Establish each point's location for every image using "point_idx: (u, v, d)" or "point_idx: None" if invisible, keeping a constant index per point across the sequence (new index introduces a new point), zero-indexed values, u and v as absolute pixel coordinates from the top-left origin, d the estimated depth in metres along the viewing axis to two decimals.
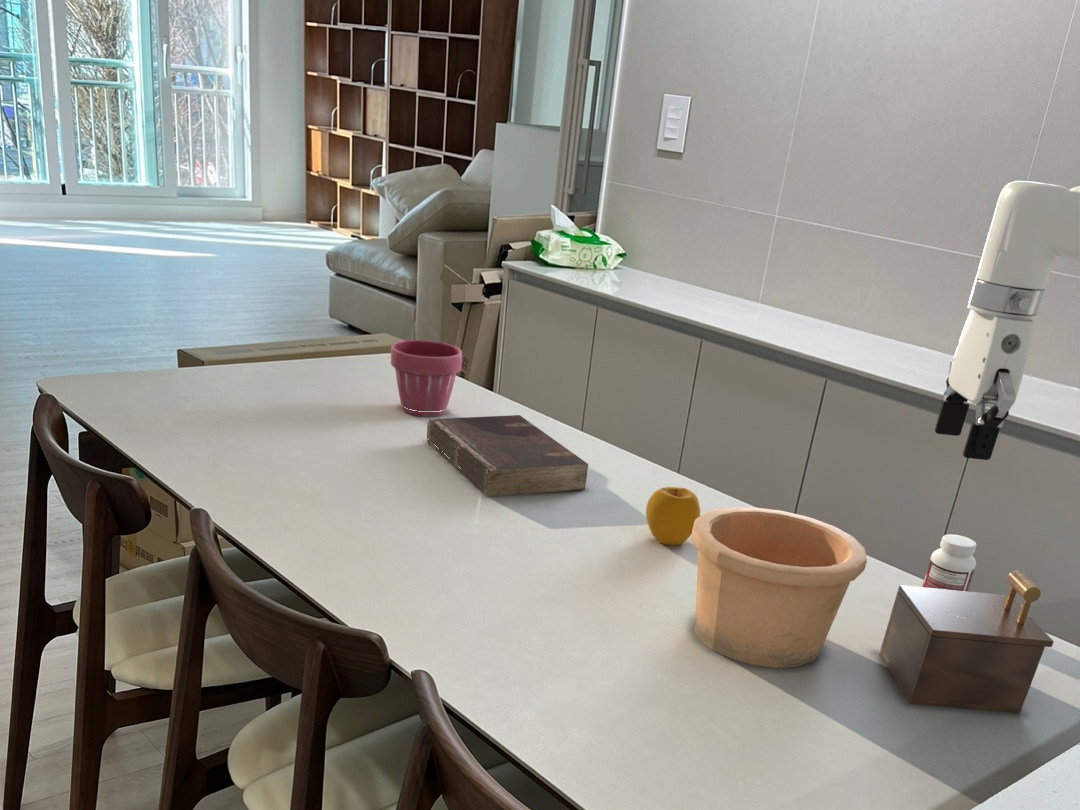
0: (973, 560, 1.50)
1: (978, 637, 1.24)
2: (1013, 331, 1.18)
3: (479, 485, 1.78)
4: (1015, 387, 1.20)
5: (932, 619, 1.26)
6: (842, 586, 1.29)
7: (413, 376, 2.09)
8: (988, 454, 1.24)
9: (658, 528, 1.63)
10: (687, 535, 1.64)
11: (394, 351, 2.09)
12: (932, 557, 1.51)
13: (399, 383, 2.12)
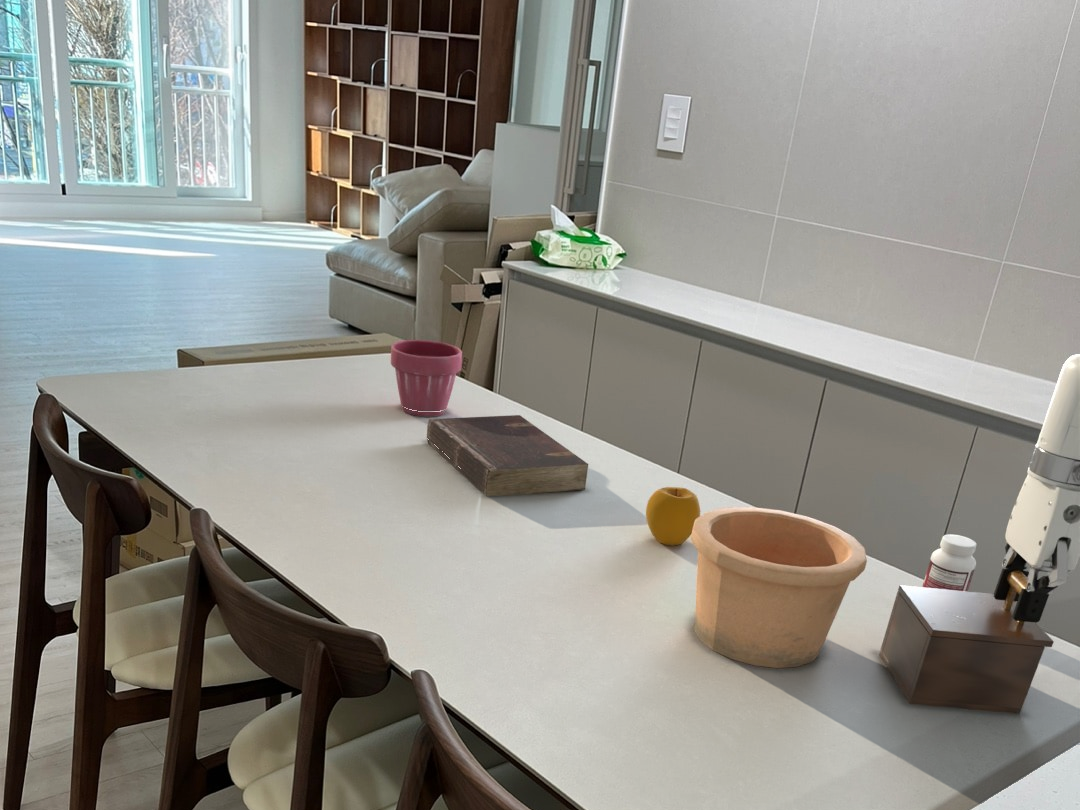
0: (973, 560, 1.50)
1: (978, 637, 1.24)
2: (1075, 502, 1.18)
3: (479, 485, 1.78)
4: (1076, 554, 1.21)
5: (932, 619, 1.26)
6: (842, 586, 1.29)
7: (413, 376, 2.09)
8: (1037, 617, 1.26)
9: (658, 528, 1.63)
10: (687, 535, 1.64)
11: (394, 351, 2.09)
12: (932, 557, 1.51)
13: (399, 383, 2.12)
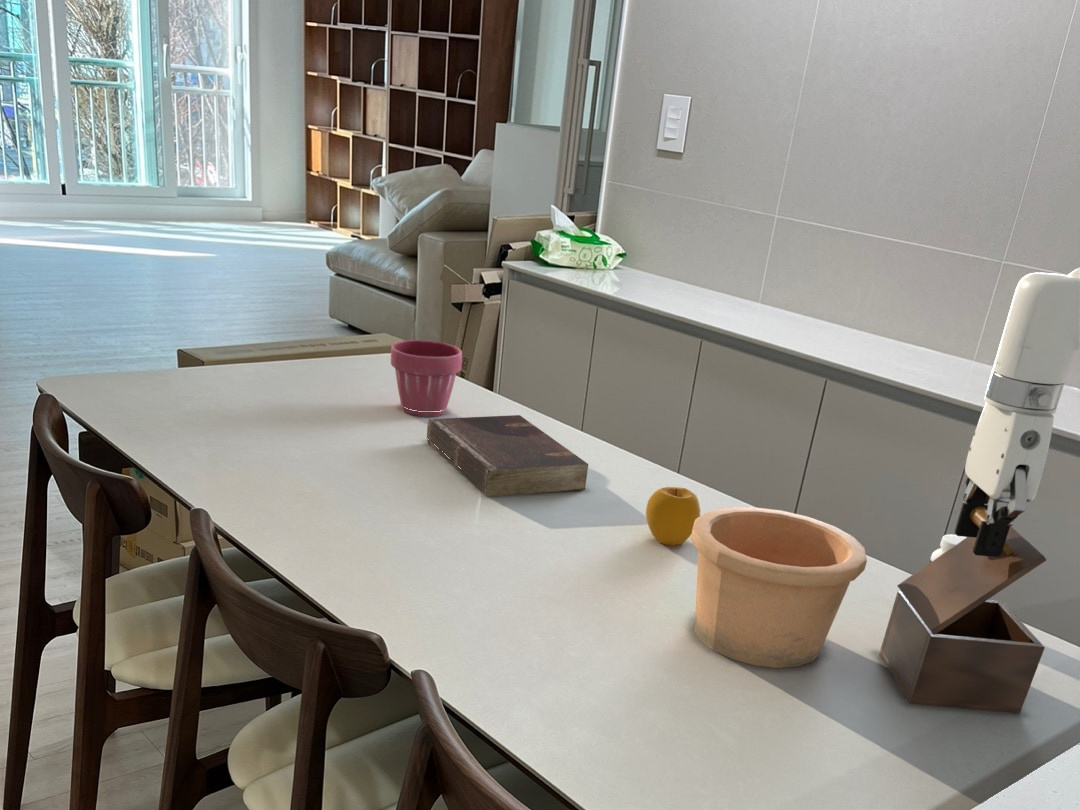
0: None
1: (974, 605, 1.22)
2: (1033, 427, 1.14)
3: (479, 485, 1.78)
4: (1035, 483, 1.16)
5: (929, 614, 1.26)
6: (842, 586, 1.29)
7: (413, 376, 2.09)
8: (998, 551, 1.22)
9: (658, 528, 1.63)
10: (687, 535, 1.64)
11: (394, 351, 2.09)
12: (932, 557, 1.51)
13: (399, 383, 2.12)
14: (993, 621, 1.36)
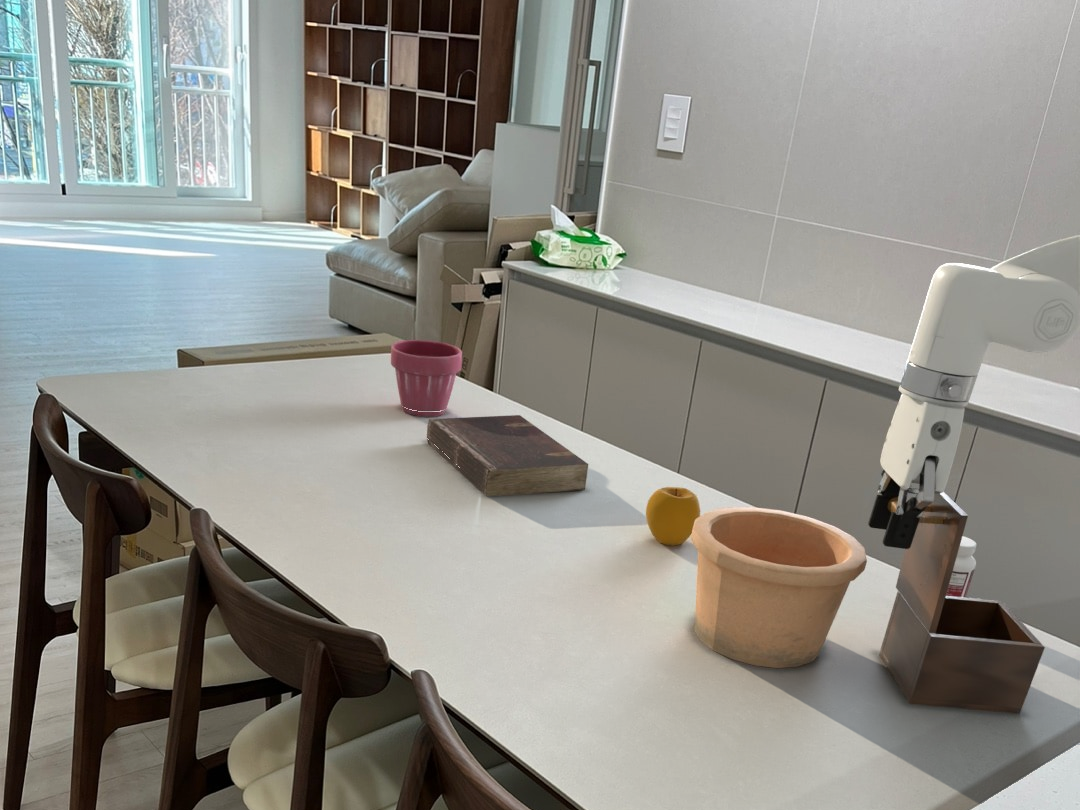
0: (973, 560, 1.50)
1: (944, 590, 1.21)
2: (943, 418, 1.13)
3: (479, 485, 1.78)
4: (944, 475, 1.16)
5: (922, 614, 1.26)
6: (842, 586, 1.29)
7: (413, 376, 2.09)
8: (908, 543, 1.22)
9: (658, 528, 1.63)
10: (687, 535, 1.64)
11: (394, 351, 2.09)
12: None
13: (399, 383, 2.12)
14: (993, 621, 1.36)
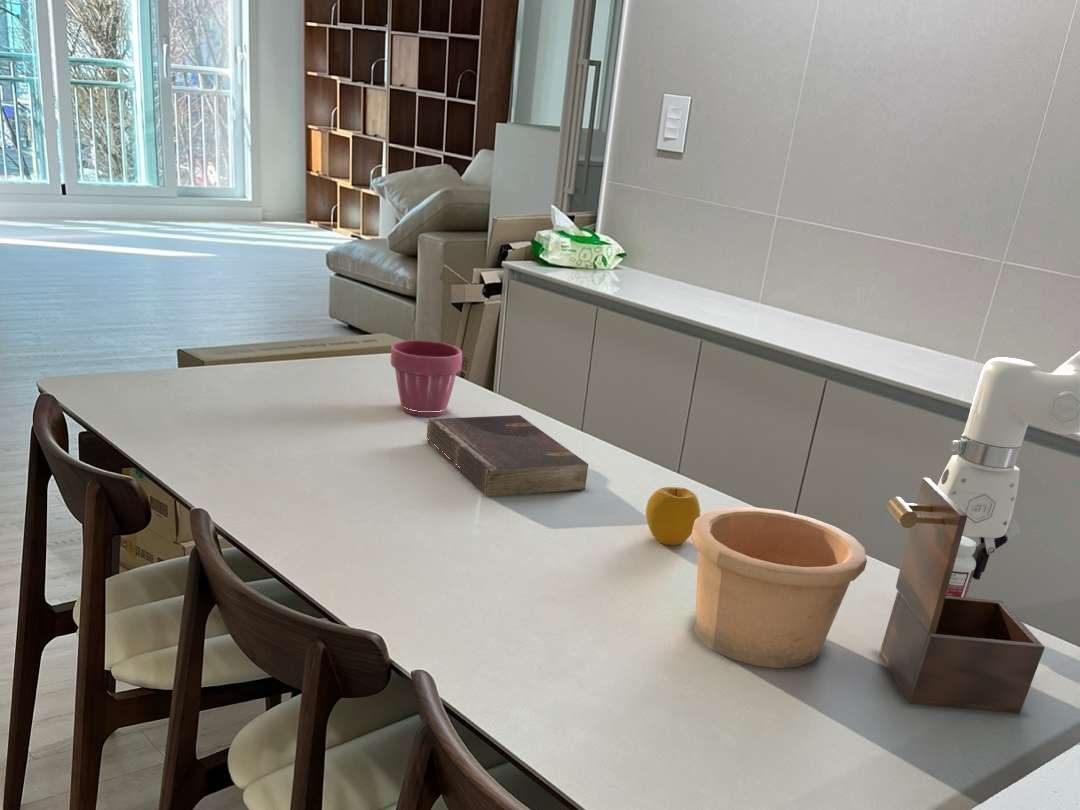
0: (973, 560, 1.50)
1: (943, 589, 1.21)
2: (949, 467, 1.45)
3: (479, 485, 1.78)
4: None
5: (922, 614, 1.26)
6: (842, 586, 1.29)
7: (413, 376, 2.09)
8: None
9: (658, 528, 1.63)
10: (687, 535, 1.64)
11: (394, 351, 2.09)
12: None
13: (399, 383, 2.12)
14: (993, 621, 1.36)
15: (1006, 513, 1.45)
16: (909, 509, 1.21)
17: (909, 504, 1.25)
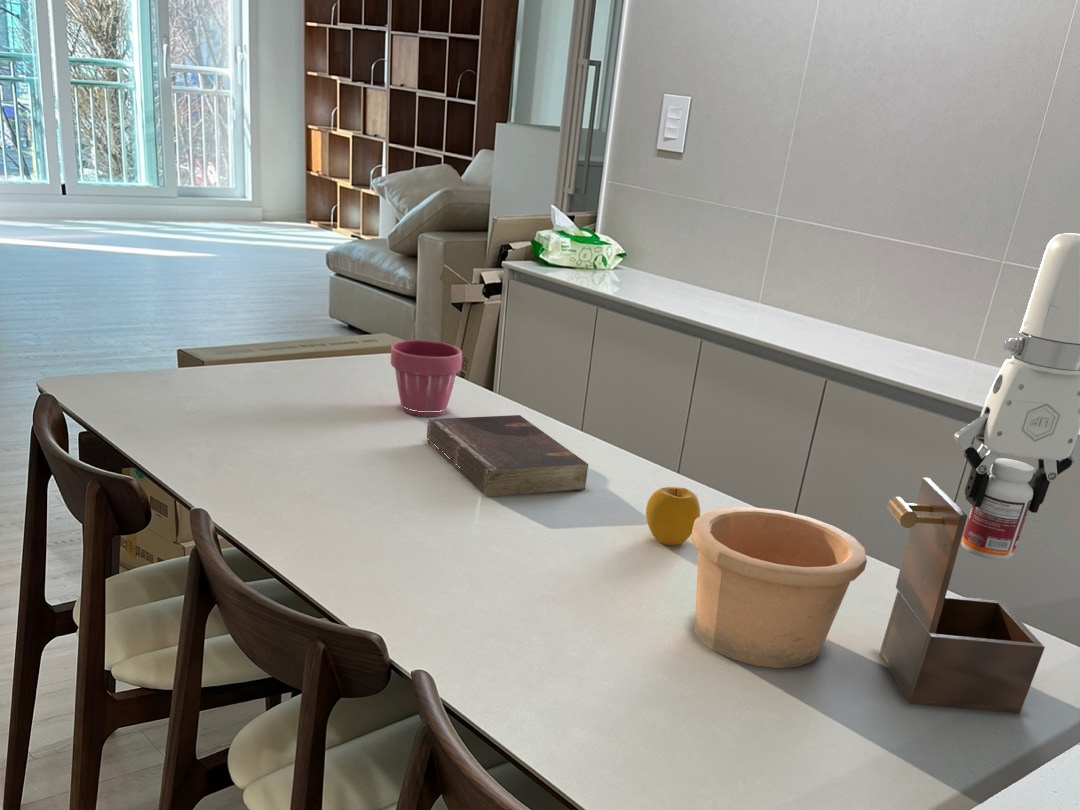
0: (1030, 488, 1.24)
1: (943, 589, 1.21)
2: (1003, 372, 1.19)
3: (479, 485, 1.78)
4: (989, 428, 1.20)
5: (922, 614, 1.26)
6: (842, 586, 1.29)
7: (413, 376, 2.09)
8: (975, 501, 1.25)
9: (658, 528, 1.63)
10: (687, 535, 1.64)
11: (394, 351, 2.09)
12: None
13: (399, 383, 2.12)
14: (993, 621, 1.36)
15: (1072, 428, 1.19)
16: (909, 509, 1.21)
17: (909, 504, 1.25)
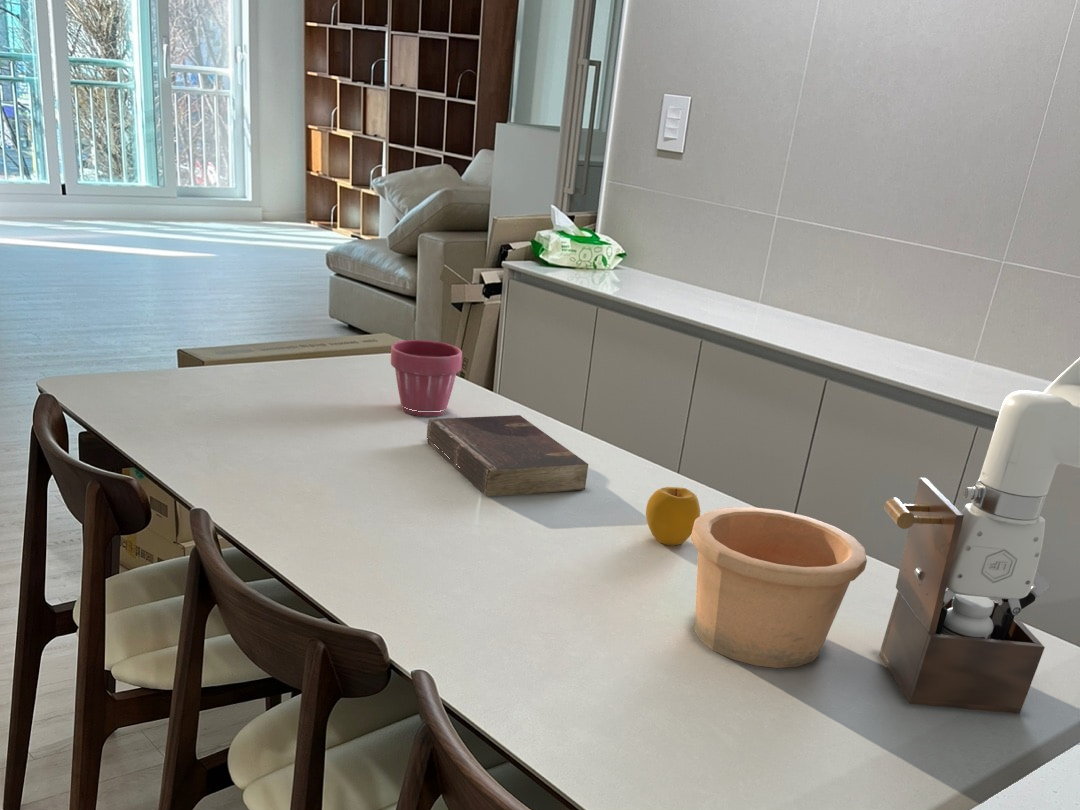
0: (990, 622, 1.29)
1: (942, 589, 1.21)
2: None
3: (479, 485, 1.78)
4: (950, 571, 1.25)
5: (922, 614, 1.26)
6: (842, 586, 1.29)
7: (413, 376, 2.09)
8: None
9: (658, 528, 1.63)
10: (687, 535, 1.64)
11: (394, 351, 2.09)
12: None
13: (399, 383, 2.12)
14: None
15: (1029, 571, 1.24)
16: (906, 510, 1.21)
17: (906, 505, 1.25)
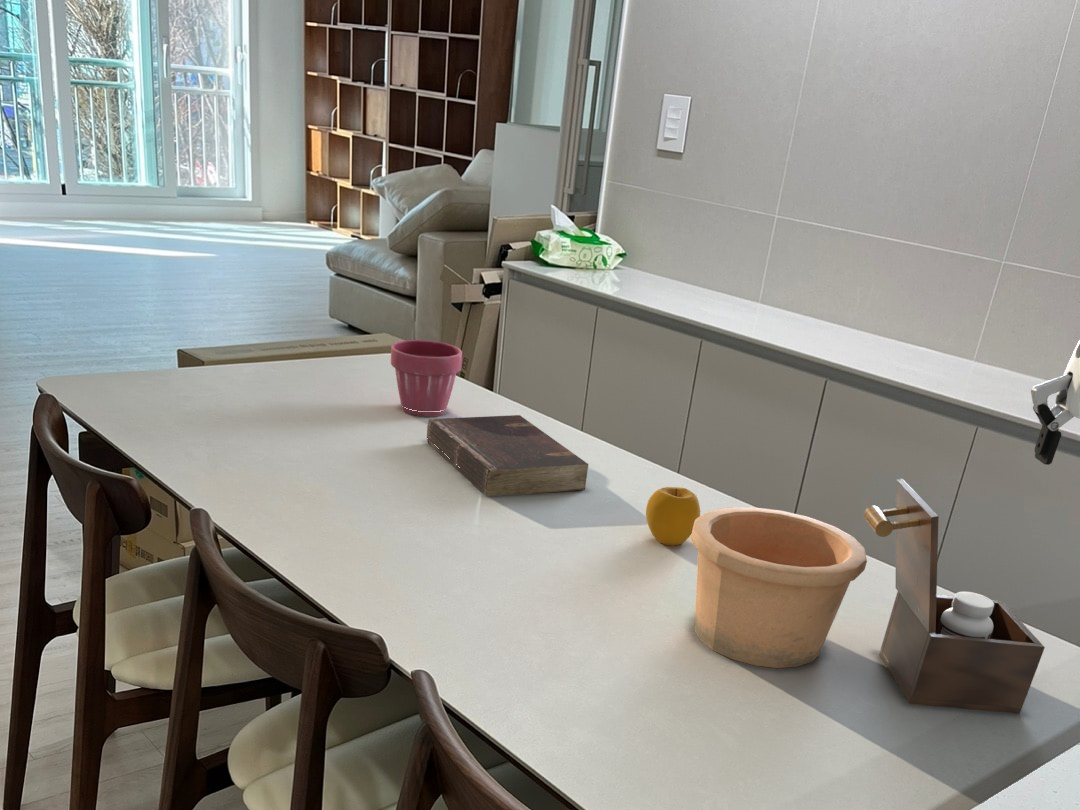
0: (990, 622, 1.29)
1: (933, 590, 1.21)
2: None
3: (479, 485, 1.78)
4: (1073, 393, 1.20)
5: (920, 614, 1.26)
6: (842, 586, 1.29)
7: (413, 376, 2.09)
8: (1046, 458, 1.24)
9: (658, 528, 1.63)
10: (687, 535, 1.64)
11: (394, 351, 2.09)
12: (942, 618, 1.30)
13: (399, 383, 2.12)
14: (993, 621, 1.36)
15: None
16: (883, 518, 1.22)
17: (885, 510, 1.25)
